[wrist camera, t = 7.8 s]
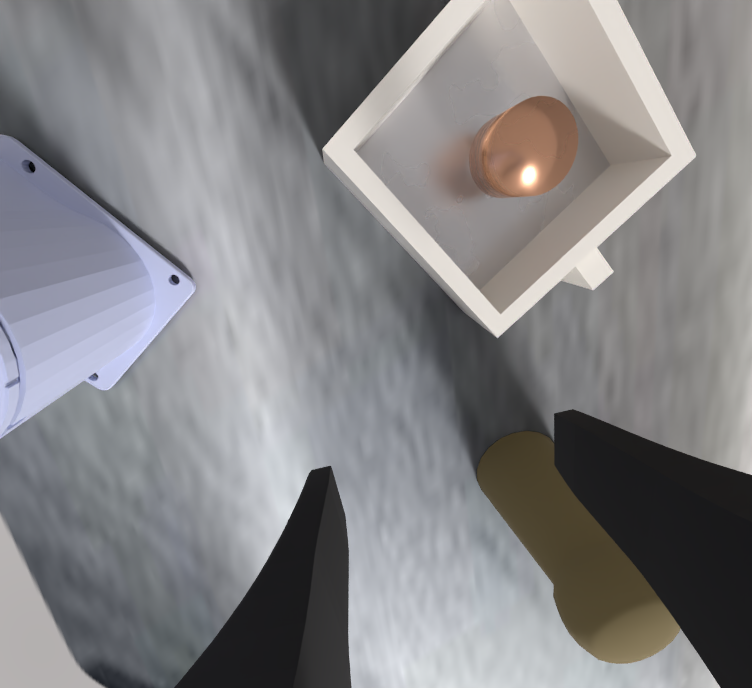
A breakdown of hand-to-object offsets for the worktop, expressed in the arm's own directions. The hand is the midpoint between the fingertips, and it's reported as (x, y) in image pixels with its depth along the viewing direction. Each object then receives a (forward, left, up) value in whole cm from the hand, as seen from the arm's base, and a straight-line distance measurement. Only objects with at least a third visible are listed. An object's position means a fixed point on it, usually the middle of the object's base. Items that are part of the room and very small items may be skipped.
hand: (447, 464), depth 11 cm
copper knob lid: (-4, +10, -10) cm, 14 cm away
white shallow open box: (-4, +10, -10) cm, 15 cm away
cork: (+13, 0, -11) cm, 17 cm away
